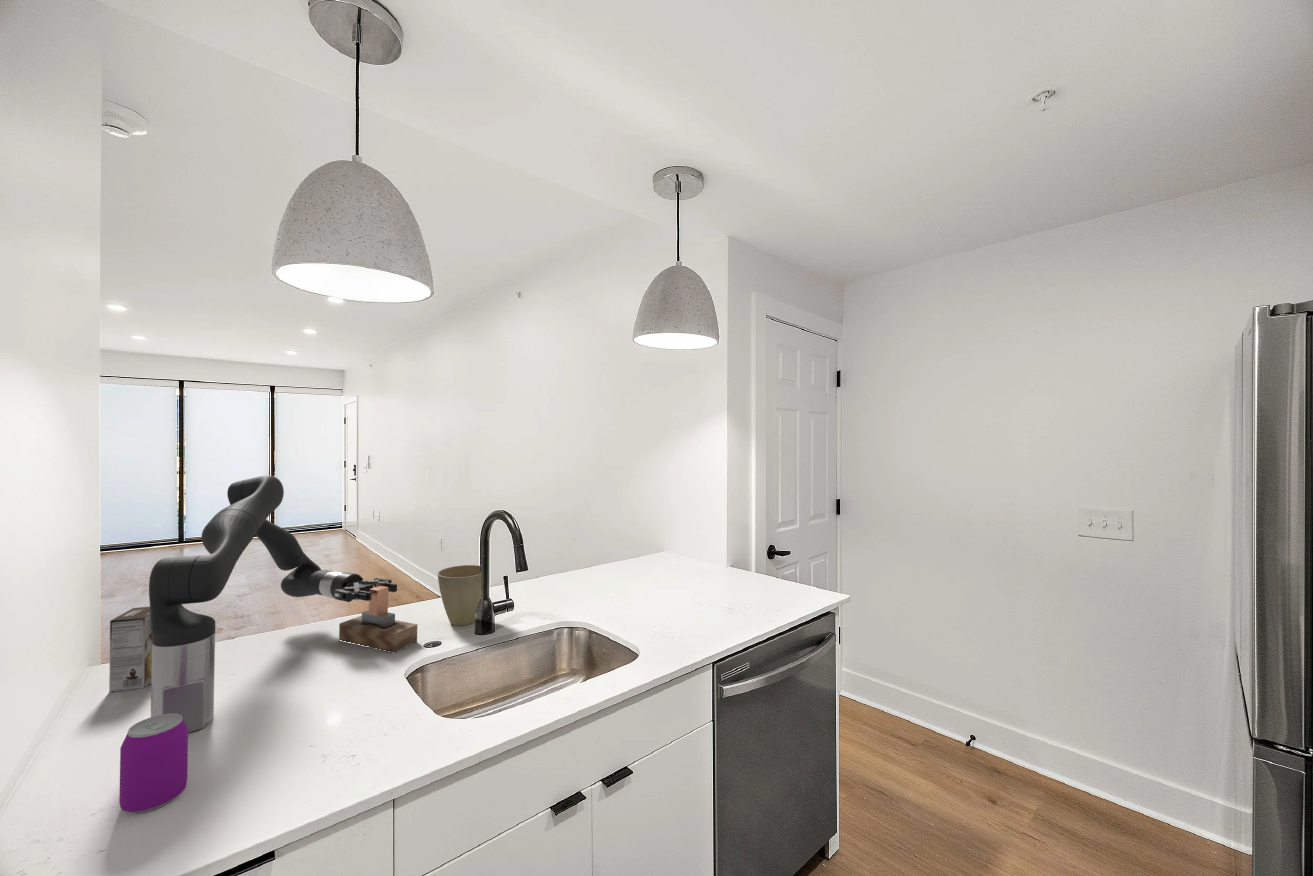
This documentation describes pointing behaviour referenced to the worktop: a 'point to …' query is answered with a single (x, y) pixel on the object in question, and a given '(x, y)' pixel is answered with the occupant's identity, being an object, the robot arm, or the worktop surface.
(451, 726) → the worktop surface
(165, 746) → the beverage can
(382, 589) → the block on stand
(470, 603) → the plant pot
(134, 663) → the coffee box
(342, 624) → the slotted block
